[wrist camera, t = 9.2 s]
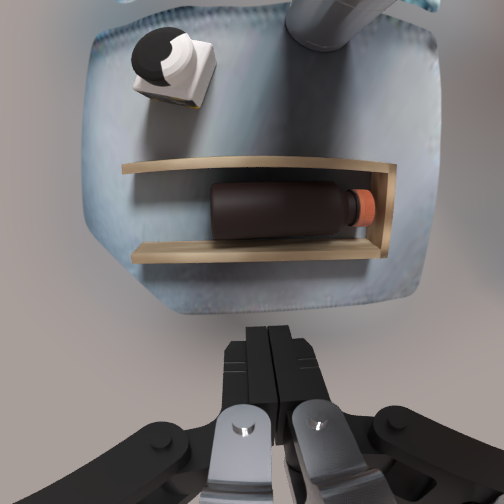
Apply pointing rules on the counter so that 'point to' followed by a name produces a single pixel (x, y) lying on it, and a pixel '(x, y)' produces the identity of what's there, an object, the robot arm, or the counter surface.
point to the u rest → (277, 248)
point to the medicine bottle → (173, 67)
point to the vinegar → (286, 209)
